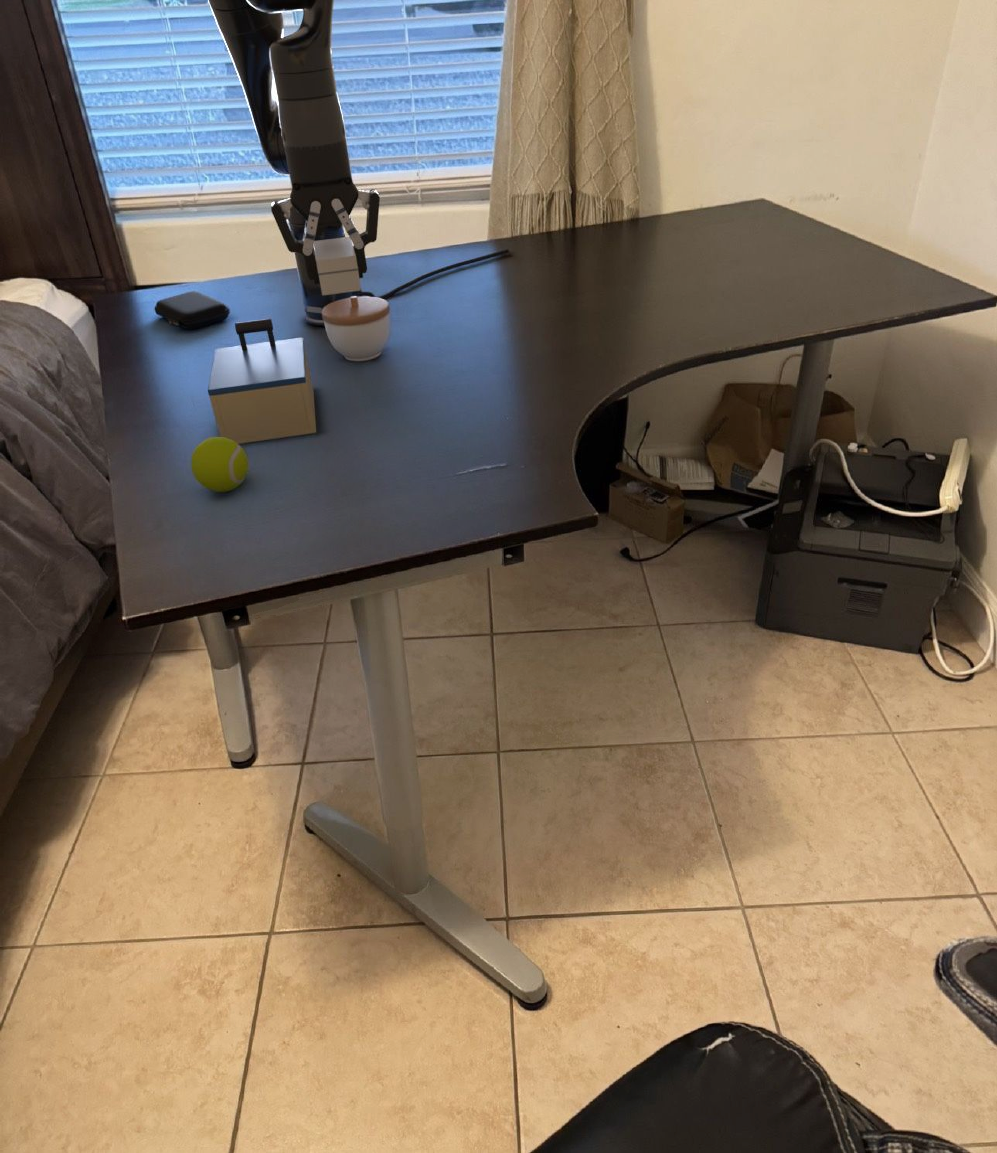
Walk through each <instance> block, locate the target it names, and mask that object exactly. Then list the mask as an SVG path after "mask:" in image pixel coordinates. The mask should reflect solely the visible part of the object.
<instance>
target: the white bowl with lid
mask: <svg viewBox="0 0 997 1153" xmlns="http://www.w3.org/2000/svg"><path fill="white" fill-rule="evenodd" d="M390 312H391V310H390V303H389V302H388V301H387V300H386V299H381V298H377V297H369V296H362V297H357V296H352V297H350V298H346V299H342V300H338V301H335V302H332V303H330V304H328V305H327V306H325V307H324V308H323V310H322V317H323V320H324V324H325V326H324V327H325V333H326V335H327V338H328V340H329V343H330V344H331V346H332V347H333V348H334V350H335V351H337V353H339V354H340V355H341V356H343V358H344V359H345V360H347V361H351V362H364V361H365V362H366V361H370V360H373V359H376V358H378V357H379V356H381V354H382V352H383V350H384V348H386V346H387V344H388V342H389V340H390V336H391V328H392V326H391V313H390Z"/></svg>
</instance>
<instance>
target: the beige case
mask: <svg viewBox="0 0 997 1153" xmlns="http://www.w3.org/2000/svg"><path fill="white" fill-rule="evenodd" d="M313 246H314V252H315V258H316V264H317V271H318V275H319V280H320V285H321V291H322V295H330V294H338V293H345V292H353V291H360V290H362V286H361V285H362V284H361V281H360V279H361V278H359V273H358V266H357V260H356V255H355V251H354V248H353V246H354V244H353V242H352V240H351V239H350V237H349V236H346V237H344V238H336V239H328V240H319V241H314V244H313Z"/></svg>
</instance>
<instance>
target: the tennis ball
mask: <svg viewBox="0 0 997 1153" xmlns="http://www.w3.org/2000/svg"><path fill="white" fill-rule="evenodd" d="M190 458H191V459H190V467H191V471H192V475H193V476H194V478H195V480H196V481H197V483H198V484H200V485H201V486H202V487H204V488H205V489H207V490H209V491H211V492H212V491H213V492H217V493H224V492H225V493H226V492H230V491H232V490H234V489H236V488H238V487H239V486H240V485H241V484H242V483H243V482H244V481H245V479H246V476H247V475H248V473H249V472H248V471H249V459H248V456H247V454H246V452H245V450H244V448H243V447H242V446H241V445H240V444H237V443H236V442H235V441H233V440H231V439H228V438H225V437H220V436H212V437H209V438H206V439H204V440H202V441H201V442H200V443H199V444H197V446H196V447H195V449H194V450H193V452H192V455H191V457H190Z"/></svg>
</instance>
